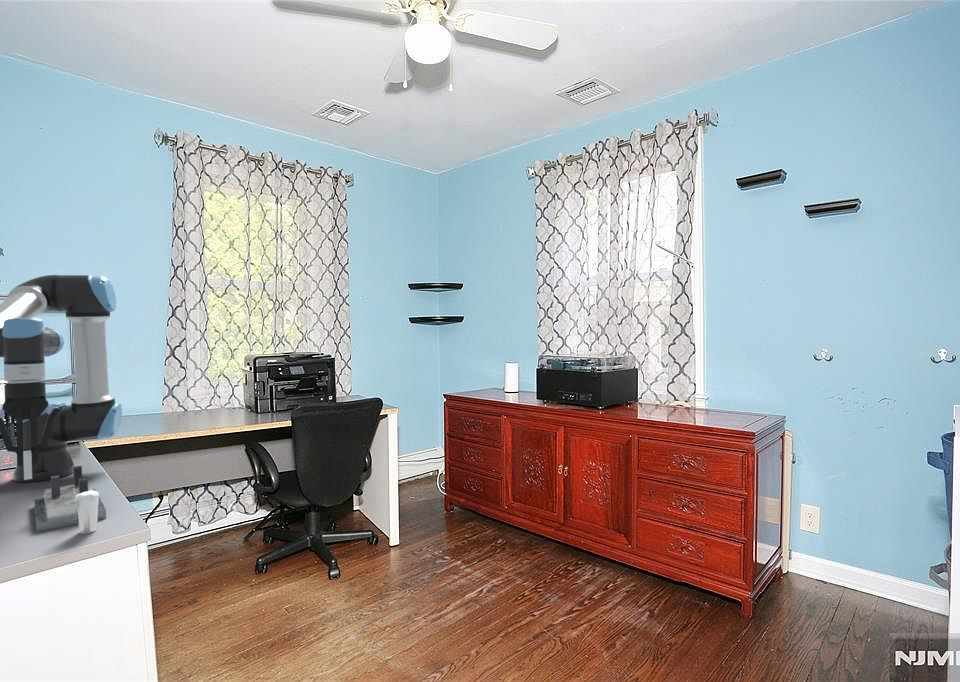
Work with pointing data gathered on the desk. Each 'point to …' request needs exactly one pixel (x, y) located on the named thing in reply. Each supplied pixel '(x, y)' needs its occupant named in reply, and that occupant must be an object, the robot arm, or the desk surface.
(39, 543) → the desk surface
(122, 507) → the desk surface
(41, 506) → the breaker panel
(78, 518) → the milkshake
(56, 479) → the breaker
